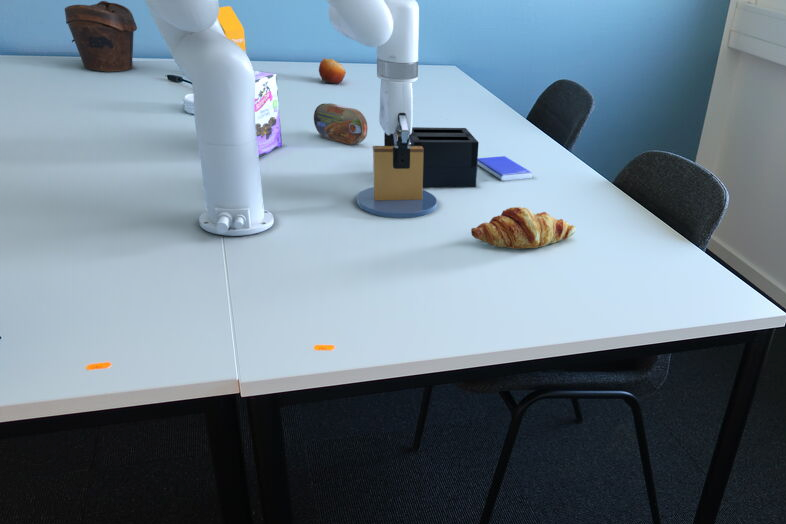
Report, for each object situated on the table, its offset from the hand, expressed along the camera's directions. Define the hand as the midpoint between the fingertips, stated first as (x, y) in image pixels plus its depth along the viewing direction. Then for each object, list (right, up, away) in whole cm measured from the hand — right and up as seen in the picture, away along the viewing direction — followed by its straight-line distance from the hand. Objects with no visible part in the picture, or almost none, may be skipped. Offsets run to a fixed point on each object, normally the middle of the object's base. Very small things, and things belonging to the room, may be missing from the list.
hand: (396, 160), depth 148 cm
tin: (-21, +15, +37) cm, 45 cm away
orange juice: (-65, +44, +76) cm, 109 cm away
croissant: (+25, -17, -5) cm, 31 cm away
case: (-100, +47, +74) cm, 133 cm away
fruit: (-37, +48, +87) cm, 106 cm away
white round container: (-59, +25, +46) cm, 79 cm away
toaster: (+6, +1, +20) cm, 21 cm away
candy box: (-37, +8, +23) cm, 44 cm away
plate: (-1, -8, +5) cm, 9 cm away
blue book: (+20, +5, +30) cm, 36 cm away
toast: (-1, -7, +4) cm, 8 cm away
